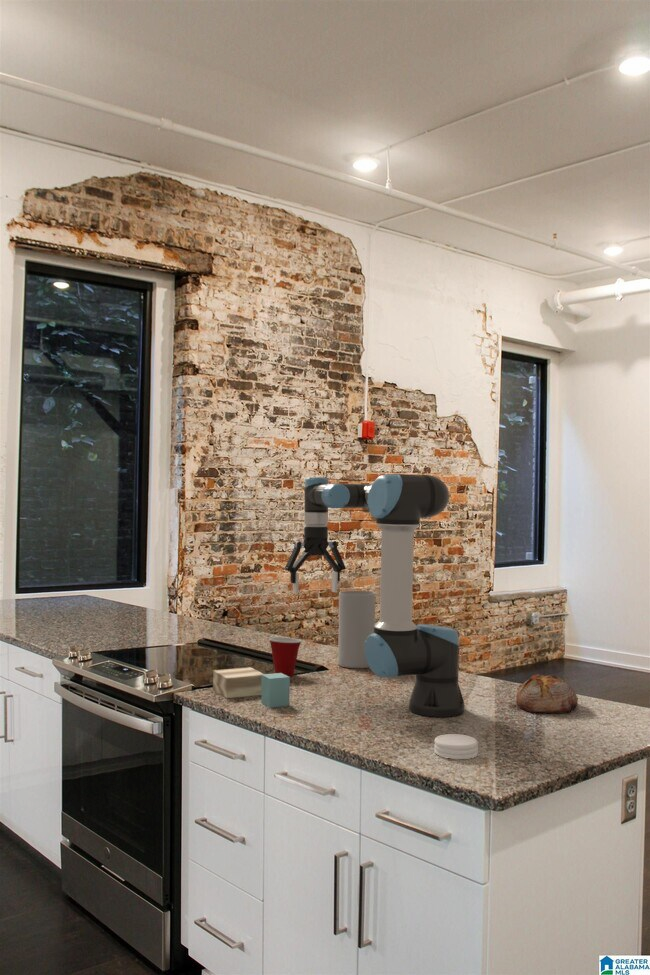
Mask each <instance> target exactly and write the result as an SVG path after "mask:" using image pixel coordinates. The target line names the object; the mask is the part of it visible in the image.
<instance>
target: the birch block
mask: <svg viewBox="0 0 650 975" xmlns="http://www.w3.org/2000/svg"><path fill="white" fill-rule="evenodd" d="M212 672H213V673H212V674H213V675H212V678H213V679H212V691H213V690H214V691H215V692H216V693H218V694H220V695H221V696H222V697H224V698H225V699H230V698H231V699H232V698H242V697H243V698H244V697H251V696H252V697H253V696H261V678H262V675H263V674H264V673H262V672H261V671H259V670H257V669H254V668H253V667H250V666H248V667H237V668H227V669H226V668H224V669H214V670H212Z"/></svg>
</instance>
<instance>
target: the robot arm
mask: <svg viewBox="0 0 650 975" xmlns="http://www.w3.org/2000/svg"><path fill="white" fill-rule="evenodd" d="M303 489H304V513H303V514H304V515H303V516H304V521H303V524H304V525H305V526H304V530H303V535H304V536H303V539H304V540H303V541H299V540H296V541H294V547H293V549H292V551H291V554H290V556H289V558H288V560H287V563H286V564H285V567H284V570H285V571H287V572H289V573H290V577H289V578H290V581H289V582H290V583H291V584H292V594H293V595H294V594H295V595H299V583H300V582H299V576H300V573H298V572H297V571H299V569H300V568H301V567H302V565H303V564H304V562H306V560H307V559H308V558H309V557H310V556H322V557H324V559H325V560H326V561H327V563H328V564H329V565H330V567H331V568H332V571H331V592H332V593H338V582H340V581H341V579H340V578H341V572H342V571H343V570H345V569H346V565H345V563H344V560H343V558H342V556H341V553H340V551H339V549H338V542H337V541H336V540H329V541H328V536H329V528H328V525H329V509H355V508H357V509H369V513H370V516H372V517H373V518H375V520H376V521H375V523H376V526H377V527H378V528H379V529H380V530H381V544H380V545H381V547H380V550H381V551H380V589H379V590H380V594H379V595H380V596H379V597H380V598H379V620H378V621H377V622H375V625H374V633H373V634H371V635H369V636H368V637H367V638H366V639H367V640H366V641H365V656H366V660H367V663H368V665H369V667H370V668H369V669H370V670H371V671H372V673H373V674H375V676H376V677H379V678H392V679H394V678H397V677H399V678H400V677H406V676H414V675H415V683H414V685H413V688H412V692H411V696H410V698H409V701H408V703H409V704H408V710H409V711H410V712H411V713H413V714H416V715H421V716H426V717H435V718H443V717H444V718H445V717H449V718H451V717H456V716H457V717H458V716H460V715H462V714H464V713H465V701H464V698H463V695H462V691H461V687H460V685H459V684H460V683H459V670H460V669H459V662H460V661H459V658H460V657H459V656H460V655H459V652H460V651H459V650H460V639H459V632H458V631H457V630H455V629H454V628H450V627H447V626H446V627H445V626H439V625H432V624H425V623H424V624H423V623H420V624H417V625H416V623H414V622H413V588H414V586H413V585H414V584H413V582H414V581H413V578H414V577H413V576H414V574H413V573H414V541H415V540H414V537H415V536H414V534H415V533H414V532H415V531H416V530H417V528H419V527H420V522H421V520H420V519H421V518H430V517H431V518H432V517H435V516H438V515H439V514H441V513H442V512H443V511H445V509H446V507H447V506H448V503H449V500H450V491H449V488H448V487H447V485H446V483H445V482H444V481H442V480H441V478H439V477H436V476H435V475H430V474H407V473H406V474H402V473H389V474H383V475H382V474H381V475H379V476H378V477H377V478H375V480H374V481H373V483H339V482H337V483H336V482H332V483H329V479H328V478H327V477H319V476H318V477H317V476H316V477H315V476H314V477H306V478H305V480H304V488H303ZM328 547H329V548H330V551H331V552H332V555H333V557H332V556H331V554H330V553H329V551H328V550H327V549H328ZM301 549H304V550H303V551H302V553H301V555H300V556H299V554H300V551H301ZM298 556H299V558H298ZM333 558H334V559H333Z"/></svg>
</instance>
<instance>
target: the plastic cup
mask: <svg viewBox="0 0 650 975" xmlns="http://www.w3.org/2000/svg"><path fill="white" fill-rule="evenodd" d="M268 640H269V643H270V649H271V655H272V662H273V666H274V669H273V670H274V673H282V674H284V675H287V676H289V677H290V678H291V677H293V676H294V673H295V669H296V665H297V664H296V663H297V660H298V653H299V649H300V646H301V643H302V642H303V639H299V638H295V637H294V638H293V637H280V636H279V637H276V636H275V637H269V638H268Z"/></svg>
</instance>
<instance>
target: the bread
mask: <svg viewBox="0 0 650 975" xmlns="http://www.w3.org/2000/svg"><path fill="white" fill-rule="evenodd" d="M515 699H516V701H515V703H516V705H517V706H518V707H519V708H520V709H521V710H523V711H526V712H528V713H534V714H571V713H572V712H573V711H575V710H576V709H577V707H578V703H579V702H578V701H579V698H578V696H577V693H576V692H575V690H574V689H573V688H572V687H571V685H569V684H568V683H567V682H566V681H564V680H563V679H561V678H560V677H559V676H556V675H545V674H538V673H534V674H533V675H532V676H530V678H528V679H527V680H526V681H525V682H523V683H522V684H520V685H519V686H518V689H517V692H516V698H515Z"/></svg>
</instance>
